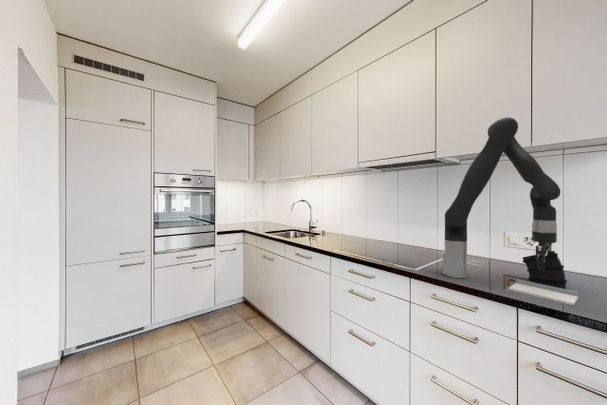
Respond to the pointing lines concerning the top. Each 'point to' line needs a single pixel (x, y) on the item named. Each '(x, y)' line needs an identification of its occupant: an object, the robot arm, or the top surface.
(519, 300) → the top surface
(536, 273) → the magazine
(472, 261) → the pliers
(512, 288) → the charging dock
